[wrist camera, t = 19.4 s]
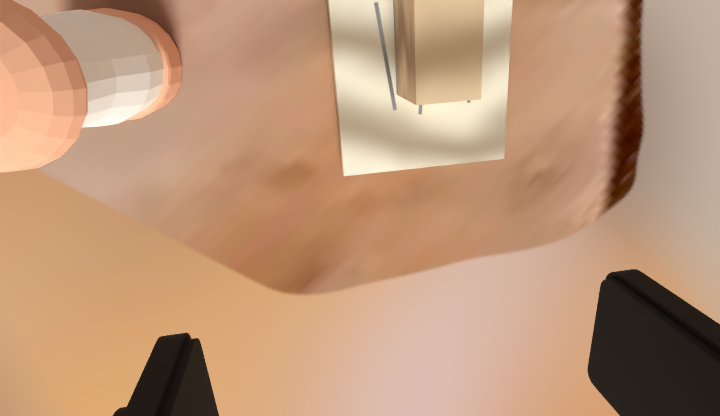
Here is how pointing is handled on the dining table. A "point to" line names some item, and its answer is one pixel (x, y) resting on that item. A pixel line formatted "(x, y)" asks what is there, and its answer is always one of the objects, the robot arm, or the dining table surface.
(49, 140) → the pepper shaker
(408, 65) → the block
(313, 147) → the dining table surface
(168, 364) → the robot arm
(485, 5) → the board
